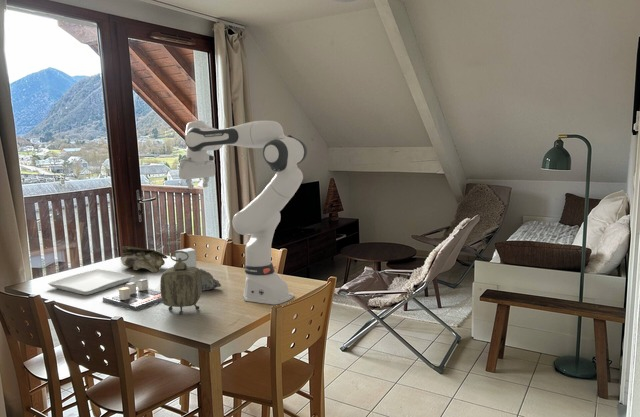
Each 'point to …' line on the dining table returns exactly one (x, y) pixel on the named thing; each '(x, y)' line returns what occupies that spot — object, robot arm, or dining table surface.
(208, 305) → the dining table surface
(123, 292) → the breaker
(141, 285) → the breaker
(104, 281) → the square plate
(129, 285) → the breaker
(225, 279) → the dining table surface
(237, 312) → the dining table surface
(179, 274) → the tabletop clock
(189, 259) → the skincare box
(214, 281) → the mineral rock
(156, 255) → the hollow geode rock
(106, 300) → the panel
